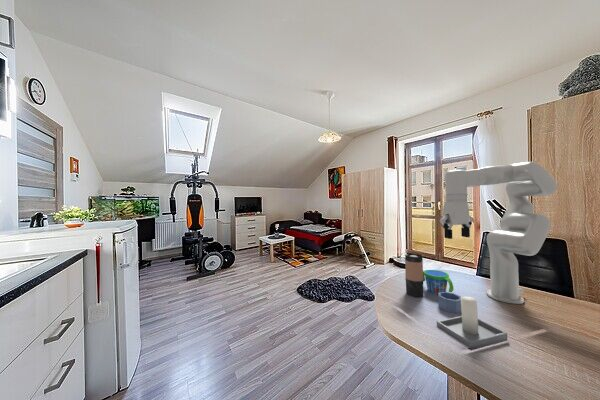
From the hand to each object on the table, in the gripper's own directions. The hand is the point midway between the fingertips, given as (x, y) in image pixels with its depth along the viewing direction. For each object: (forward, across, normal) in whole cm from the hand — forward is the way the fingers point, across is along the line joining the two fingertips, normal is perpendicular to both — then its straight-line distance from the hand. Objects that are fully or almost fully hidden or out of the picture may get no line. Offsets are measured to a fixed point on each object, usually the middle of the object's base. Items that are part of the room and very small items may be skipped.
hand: (457, 237), depth 91 cm
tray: (+30, +14, +15) cm, 37 cm away
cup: (+30, +6, +1) cm, 31 cm away
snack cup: (+31, -3, -13) cm, 33 cm away
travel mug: (+31, +10, -14) cm, 35 cm away
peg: (+29, +14, +15) cm, 36 cm away
